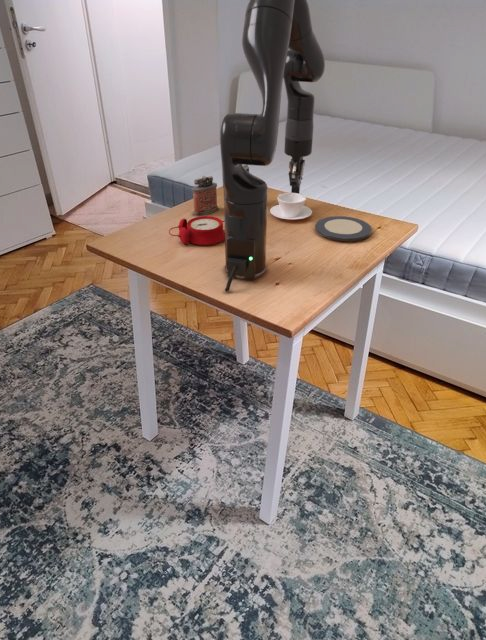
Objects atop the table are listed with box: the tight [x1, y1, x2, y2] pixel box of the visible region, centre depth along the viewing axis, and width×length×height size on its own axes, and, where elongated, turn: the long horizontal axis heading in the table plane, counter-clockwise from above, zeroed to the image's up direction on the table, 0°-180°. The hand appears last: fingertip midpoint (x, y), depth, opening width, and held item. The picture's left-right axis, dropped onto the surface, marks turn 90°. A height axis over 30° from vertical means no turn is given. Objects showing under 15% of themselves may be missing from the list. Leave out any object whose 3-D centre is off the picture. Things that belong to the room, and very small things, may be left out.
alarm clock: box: [168, 215, 225, 246], centre depth 125 cm, size 10×6×15 cm
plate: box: [314, 215, 373, 242], centre depth 130 cm, size 15×15×1 cm
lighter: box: [191, 175, 219, 217], centre depth 138 cm, size 8×3×10 cm, turn 133°
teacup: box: [269, 192, 313, 221], centre depth 137 cm, size 12×12×5 cm
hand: (295, 198), depth 141 cm, fingers closed
